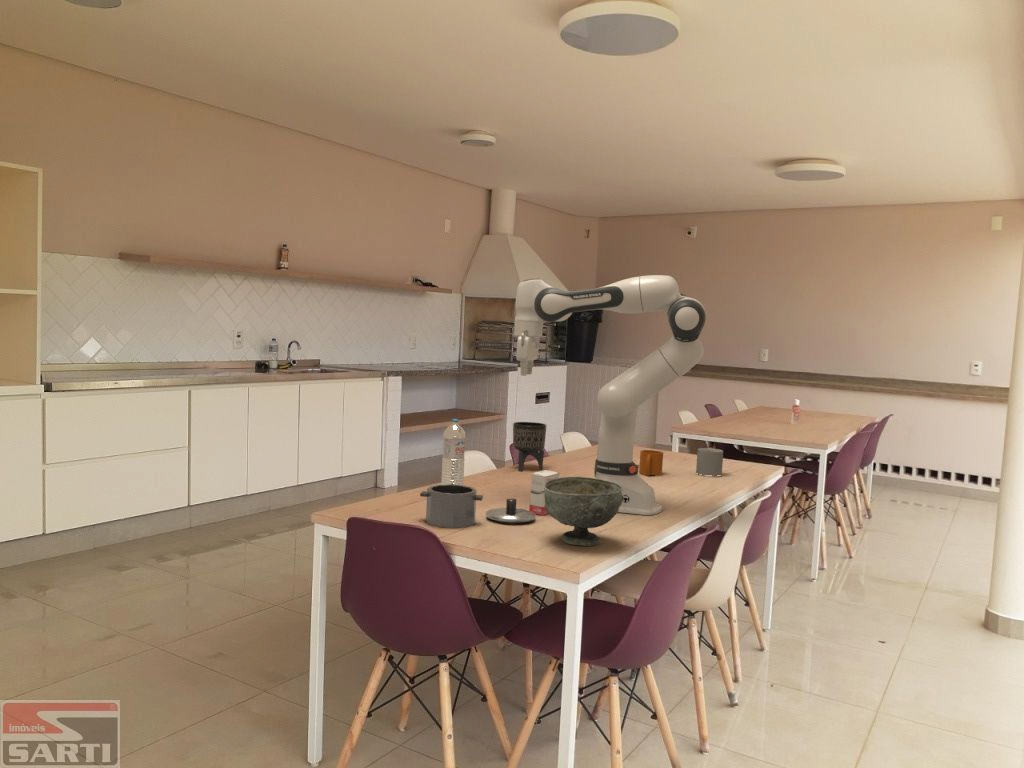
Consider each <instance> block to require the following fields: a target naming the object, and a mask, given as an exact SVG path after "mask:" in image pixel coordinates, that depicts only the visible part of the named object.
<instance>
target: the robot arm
mask: <svg viewBox="0 0 1024 768" xmlns="http://www.w3.org/2000/svg"><path fill="white" fill-rule="evenodd" d="M515 296H516V297H515V312H516V314H515V317H514V318H515V319H514V327H513V328H514V330H513V331H514V332H513V336H514V337H517V343H516V355H515V357H516V361H519V367H520V376H524V377H525V376H528V375H532V373H533V367H534V361H535V360H537V359H538V356H539V351H540V341H541V338H542V337H543V325H544V323H543V322H544V321H545V322H557V323H558V322H563V321H566V320H567V319H569V318H570V317H571V316H572V315H573V313H578V312H579V313H580V312H586V311H595V310H606V311H611V312H616V313H619V314H631V315H632V314H644V313H651V312H661V313H664V314H665V315H666V317H667V321H668V324H669V327H670V329H671V332H672V336H671V337H670V338H669V339H668V340H667V341H666V342H665V343H664V344H662V345H660V346H659V347H658V348H656V349H655V350H653V351H652V352H650V353H649V354H648V355H647V356H645V357H644V358H643V359H641V360H640V361H639V362H637V363H635V364H634V365H633V366H631V367H630V368H628V369H626V370H625V371H624V372H622V373H621V374H619V375H617V376H615V378H613V379H612V380H610V381H609V382H607V383H606V384H605V385H603V386H602V387H601V388H600V389H599V391H598V394H597V397H596V404H597V407H598V409H599V411H600V412H601V419H600V425H599V429H598V430H599V431H598V435H597V450H596V452H597V453H596V459H595V460H594V461H595V462H594V463H595V464H594V479H600V480H604V481H608V482H613V483H616V484H619V485H620V486H621V487H622V492H621V493H622V498H623V499H622V504H621V506H619V510H618V512H617V513H623V514H624V513H625V514H631V515H642V516H652V515H657V514H659V513H661V512H662V511H663V506H662V505H661V504H658V503H656V495H655V494H656V493H655V491H654V489H653V487H652V486H651V485H649V484H648V482H646V481H645V480H644V479H643V478H642V477H641V476H640V474H639V466H640V464H637V463H635V461H633V459H634V457H633V456H634V455H633V454H634V443H635V442H634V441H635V440H634V439H635V433H636V432H635V431H636V425H637V418H638V417H637V416H638V409H639V407H640V406H641V405H642V404H643V403H646V401H648V400H650V399H651V398H652V397H654V396H656V395H657V394H659V393H660V392H662V391H663V390H664V389H665V388H667V387H669V385H671V384H673V383H674V382H676V381H677V380H678V379H680V378H681V377H683V376H684V375H685V374H686V373H688V372H689V371H690V370H691V369H692V368H694V367H695V365H697V363H698V362H700V361H701V359H702V358H703V356H704V354H705V348H704V346H703V345H704V344H703V343H702V341H701V340H700V338H699V337H700V335H701V333H702V331H703V328H704V327H705V323H706V319H707V318H706V317H707V313H706V309H705V307H704V305H703V304H702V303H701V302H700V301H699V300H698V299H696V298H693V297H690V296H687V295H685V294H683V293H681V292H680V287H679V283H678V281H676V279H675V278H674V277H672V276H671V275H665V274H664V275H662V274H661V275H660V274H655V275H654V274H651V275H641V276H633V277H629V278H625V279H622V280H618V281H615V282H613V283H610V284H608V285H603V286H600V287H595V288H586V289H580V290H579V289H577V290H563V289H560V288H557V287H554V286H551V285H549V284H548V283H546V282H544V280H543V279H541V278H529V279H528V278H527V279H525V280H521V281H520V282H519V284H518V285H517V290H516V295H515Z"/></svg>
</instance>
